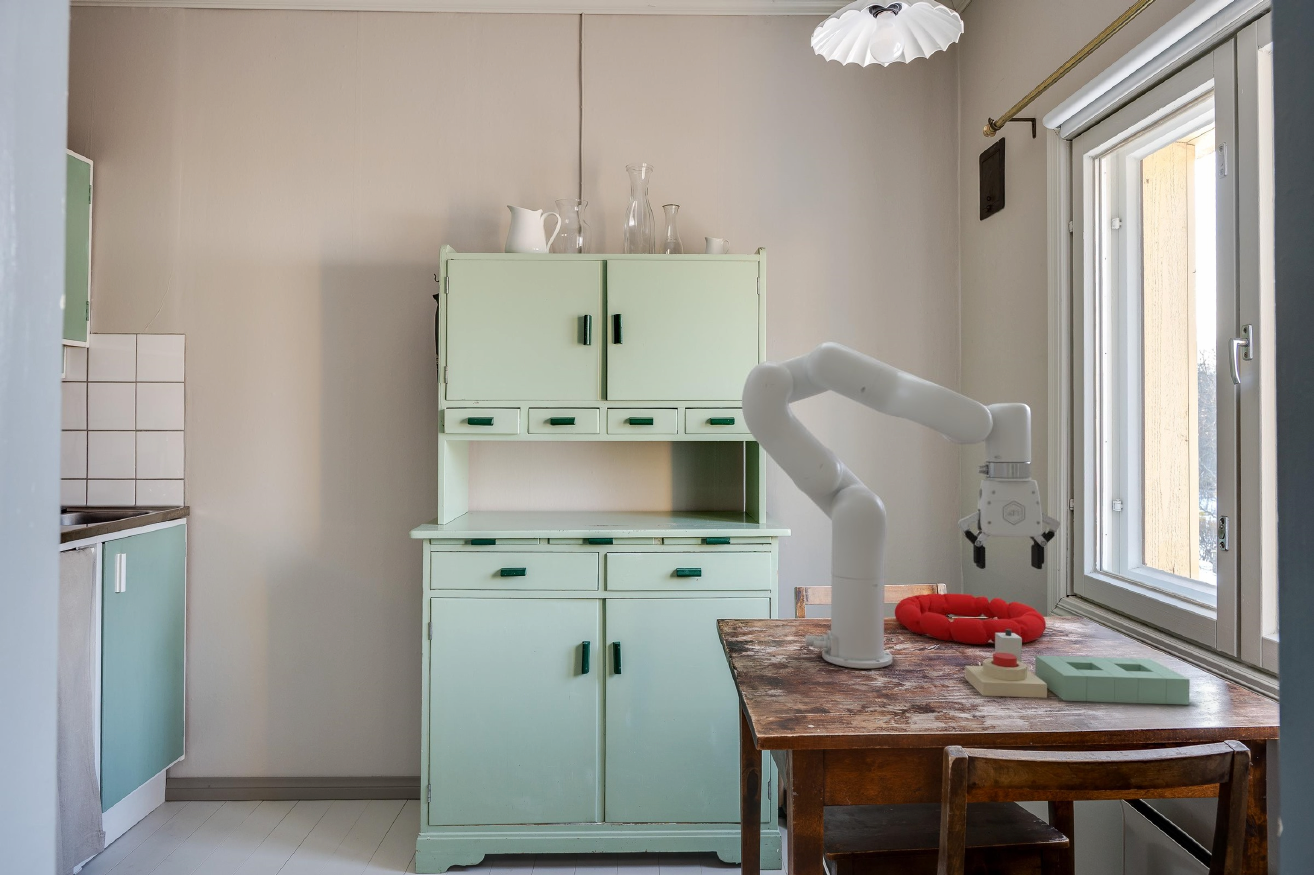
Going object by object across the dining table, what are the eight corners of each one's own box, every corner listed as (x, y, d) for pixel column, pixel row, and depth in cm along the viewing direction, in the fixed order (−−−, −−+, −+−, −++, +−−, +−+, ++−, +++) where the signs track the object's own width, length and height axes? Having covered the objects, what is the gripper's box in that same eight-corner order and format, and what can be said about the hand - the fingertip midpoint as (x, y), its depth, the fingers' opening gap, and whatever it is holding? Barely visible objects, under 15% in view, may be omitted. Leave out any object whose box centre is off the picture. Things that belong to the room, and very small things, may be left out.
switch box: (982, 695, 126) (982, 670, 126) (964, 678, 135) (965, 655, 135) (1047, 698, 126) (1047, 672, 125) (1025, 680, 134) (1025, 656, 134)
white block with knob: (1001, 671, 139) (1002, 631, 139) (994, 665, 143) (995, 627, 143) (1021, 672, 139) (1021, 632, 139) (1014, 666, 143) (1014, 627, 143)
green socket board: (1063, 700, 124) (1063, 675, 124) (1034, 678, 135) (1035, 655, 135) (1189, 704, 123) (1189, 679, 123) (1150, 682, 134) (1150, 658, 134)
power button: (997, 669, 129) (997, 658, 129) (989, 662, 132) (989, 652, 132) (1020, 669, 128) (1020, 659, 128) (1011, 663, 132) (1012, 652, 132)
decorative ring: (1065, 628, 152) (1025, 584, 181) (902, 619, 158) (889, 578, 187) (1064, 664, 152) (1024, 615, 182) (901, 654, 158) (888, 608, 188)
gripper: (964, 473, 138) (964, 571, 138) (1067, 473, 137) (1067, 572, 137) (952, 471, 146) (952, 564, 146) (1049, 471, 144) (1050, 564, 144)
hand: (1008, 567), depth 141 cm, fingers open, 9 cm apart
